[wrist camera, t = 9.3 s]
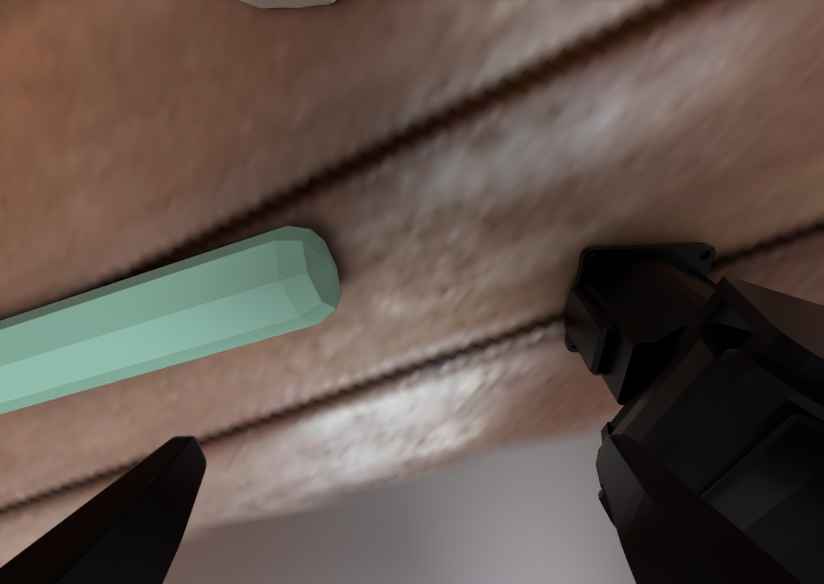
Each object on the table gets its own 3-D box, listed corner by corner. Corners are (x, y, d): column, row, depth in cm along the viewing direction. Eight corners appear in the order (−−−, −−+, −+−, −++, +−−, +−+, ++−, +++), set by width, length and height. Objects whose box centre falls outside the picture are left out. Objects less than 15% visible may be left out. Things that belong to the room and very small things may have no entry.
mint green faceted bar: (297, 273, 14) (-179, 420, 18) (359, 347, 19) (-33, 452, 23) (306, 180, 18) (-91, 319, 22) (356, 261, 23) (19, 364, 27)
